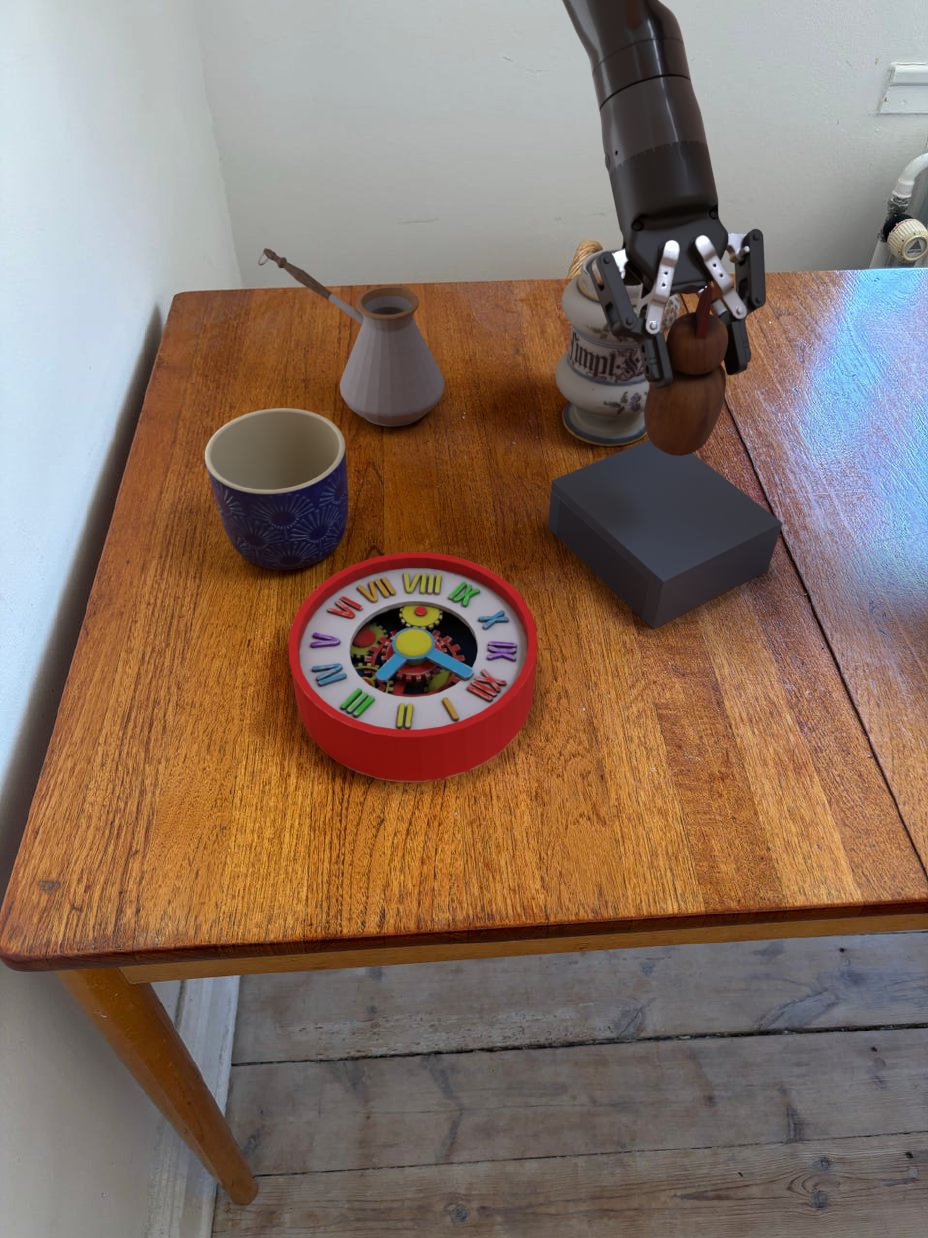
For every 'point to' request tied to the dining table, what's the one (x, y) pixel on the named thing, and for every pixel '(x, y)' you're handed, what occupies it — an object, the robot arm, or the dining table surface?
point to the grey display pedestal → (662, 529)
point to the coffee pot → (383, 354)
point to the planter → (280, 486)
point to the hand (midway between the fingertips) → (701, 378)
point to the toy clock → (413, 666)
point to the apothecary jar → (603, 365)
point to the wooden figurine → (690, 382)
